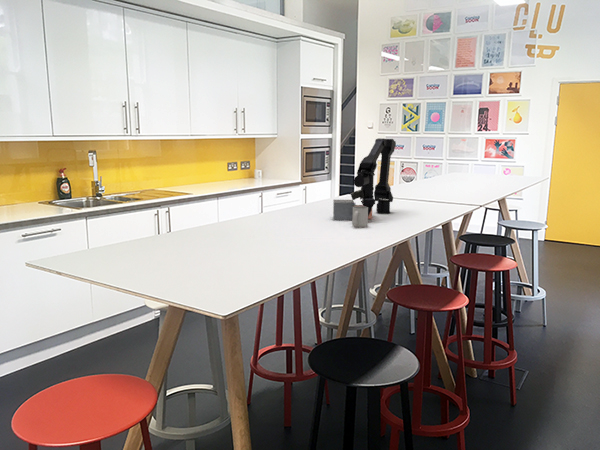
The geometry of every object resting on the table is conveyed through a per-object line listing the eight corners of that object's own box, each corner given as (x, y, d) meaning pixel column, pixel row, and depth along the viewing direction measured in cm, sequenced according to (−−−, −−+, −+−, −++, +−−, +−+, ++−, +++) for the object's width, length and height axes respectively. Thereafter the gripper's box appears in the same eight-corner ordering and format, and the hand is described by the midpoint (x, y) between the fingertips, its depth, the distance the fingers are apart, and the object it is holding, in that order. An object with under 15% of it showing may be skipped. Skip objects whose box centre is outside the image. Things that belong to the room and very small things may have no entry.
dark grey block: (354, 216, 262) (354, 199, 260) (355, 220, 253) (356, 202, 251) (333, 216, 263) (333, 199, 261) (333, 220, 253) (333, 202, 251)
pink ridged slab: (371, 217, 258) (371, 205, 257) (372, 218, 256) (372, 205, 255) (338, 217, 259) (338, 204, 258) (338, 218, 257) (338, 205, 255)
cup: (370, 225, 240) (370, 207, 239) (361, 229, 232) (361, 210, 230) (356, 224, 244) (356, 205, 242) (347, 227, 236) (347, 208, 234)
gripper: (350, 182, 263) (350, 212, 266) (352, 187, 245) (352, 219, 248) (372, 182, 263) (371, 212, 266) (375, 187, 245) (374, 219, 248)
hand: (366, 215), depth 257 cm, fingers open, 3 cm apart
